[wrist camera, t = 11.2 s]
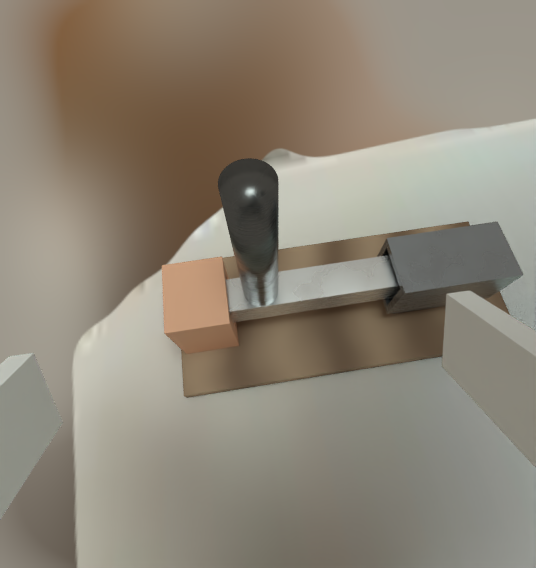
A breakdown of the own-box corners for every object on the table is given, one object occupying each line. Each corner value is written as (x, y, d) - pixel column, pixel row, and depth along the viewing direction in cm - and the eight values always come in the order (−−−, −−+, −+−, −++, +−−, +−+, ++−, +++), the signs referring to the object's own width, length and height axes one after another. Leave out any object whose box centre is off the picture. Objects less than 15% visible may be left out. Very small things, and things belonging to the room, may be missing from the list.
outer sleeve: (460, 258, 30) (497, 221, 25) (479, 304, 29) (523, 274, 24) (368, 272, 30) (386, 238, 25) (382, 319, 28) (405, 293, 23)
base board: (462, 227, 33) (468, 221, 32) (514, 344, 28) (521, 341, 27) (179, 269, 32) (176, 264, 31) (187, 397, 27) (183, 396, 26)
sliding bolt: (406, 265, 28) (513, 121, 15) (416, 294, 27) (539, 165, 14) (190, 298, 27) (114, 176, 14) (192, 328, 26) (113, 226, 14)
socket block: (232, 289, 30) (221, 256, 24) (239, 345, 28) (229, 323, 22) (183, 297, 30) (161, 265, 24) (186, 354, 28) (164, 333, 22)
